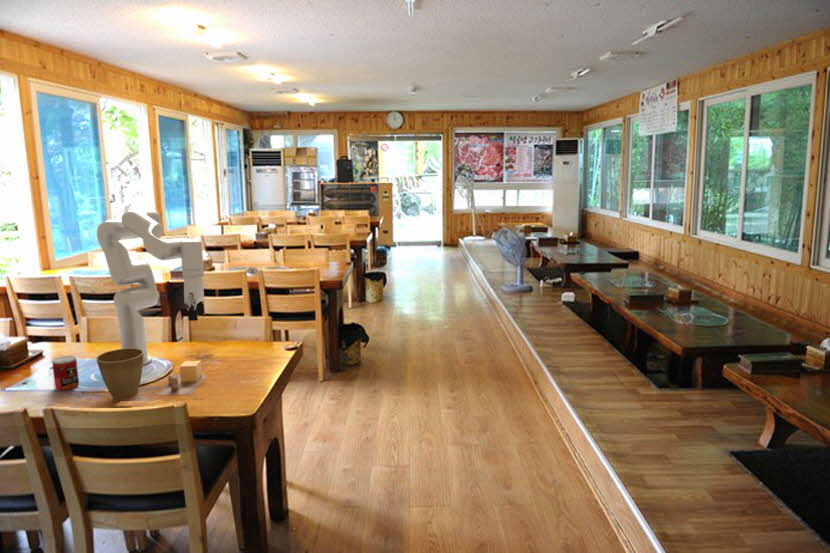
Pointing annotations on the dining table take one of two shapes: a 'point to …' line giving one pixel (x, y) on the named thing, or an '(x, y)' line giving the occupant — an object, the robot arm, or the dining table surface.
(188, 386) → the junction board
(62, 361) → the canned food
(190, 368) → the wooden block
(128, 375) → the plant pot
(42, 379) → the dining table surface
